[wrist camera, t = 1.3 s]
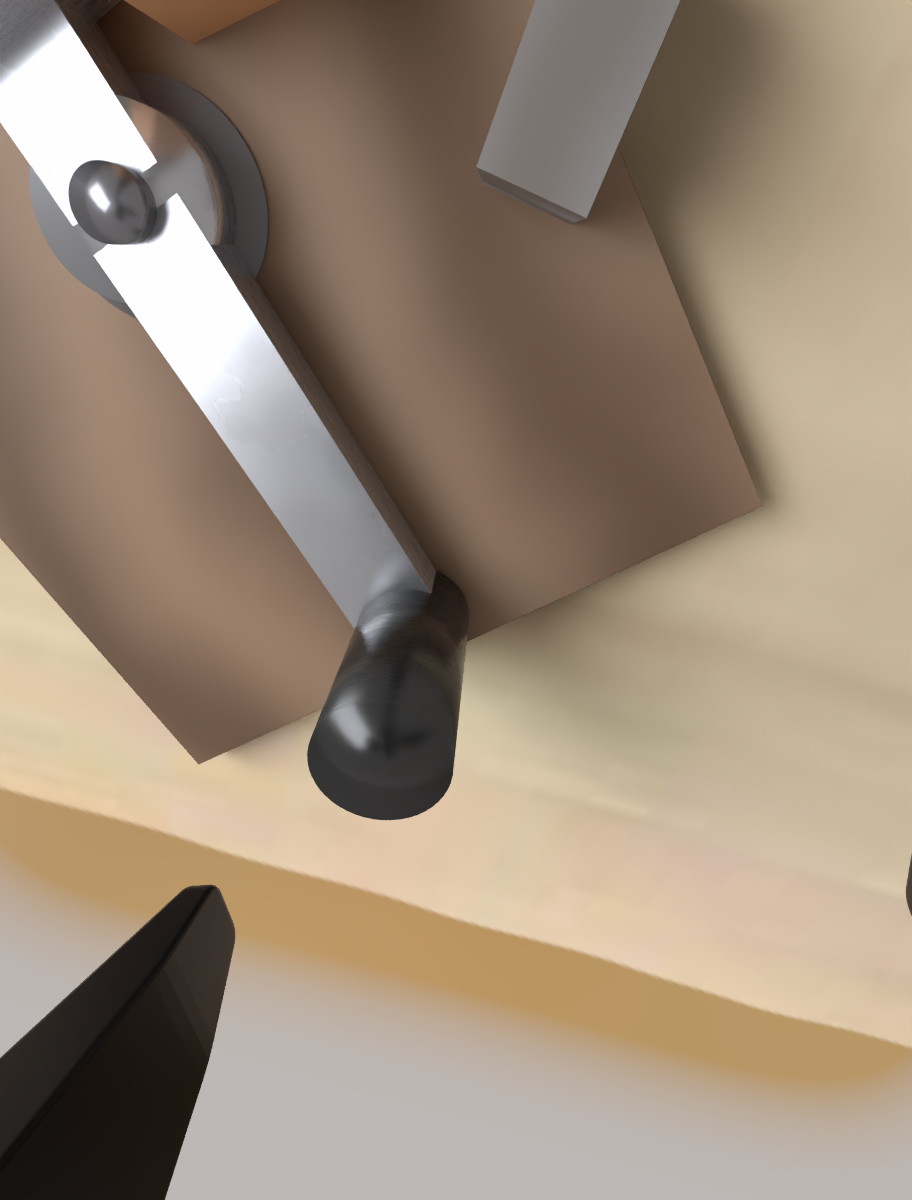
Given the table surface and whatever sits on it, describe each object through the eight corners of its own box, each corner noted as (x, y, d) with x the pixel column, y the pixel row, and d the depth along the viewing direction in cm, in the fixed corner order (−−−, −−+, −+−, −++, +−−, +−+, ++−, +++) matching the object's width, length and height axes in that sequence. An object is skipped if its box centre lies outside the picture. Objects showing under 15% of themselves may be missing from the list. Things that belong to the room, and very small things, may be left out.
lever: (49, -122, 13) (-300, -402, 7) (500, 627, 19) (497, 783, 14) (-83, 6, 14) (-479, -155, 8) (388, 679, 20) (342, 843, 14)
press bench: (540, -463, 12) (557, -840, 8) (847, 447, 18) (947, 507, 14) (-225, 237, 17) (-449, 234, 13) (210, 744, 23) (148, 848, 19)
